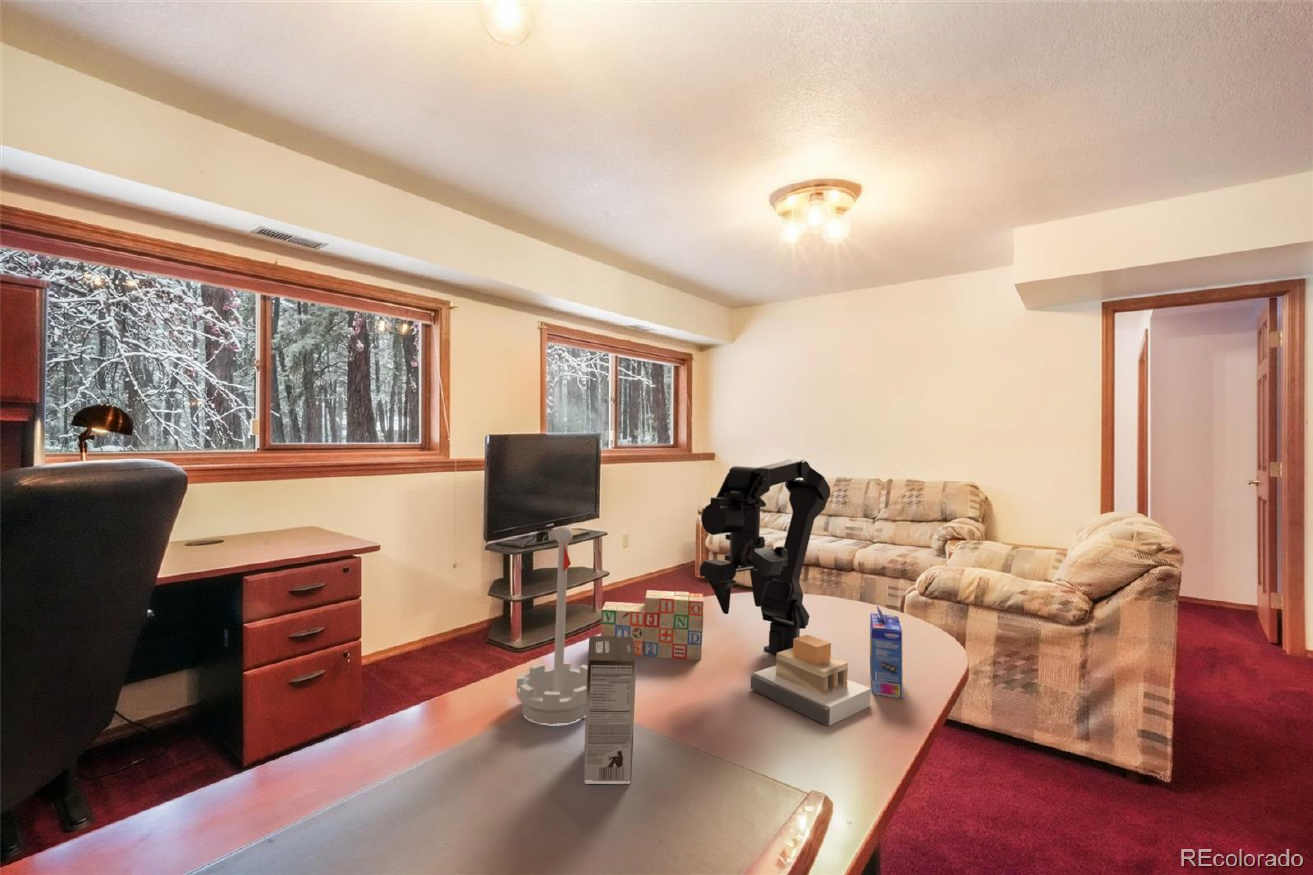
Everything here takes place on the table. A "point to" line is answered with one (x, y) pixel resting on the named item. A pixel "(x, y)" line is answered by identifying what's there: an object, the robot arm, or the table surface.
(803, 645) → the tan cardboard cube
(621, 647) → the coffee box
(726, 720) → the table surface
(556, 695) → the flag stand
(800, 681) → the pallet
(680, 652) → the stack of blocks
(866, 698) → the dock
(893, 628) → the ink cartridge box
